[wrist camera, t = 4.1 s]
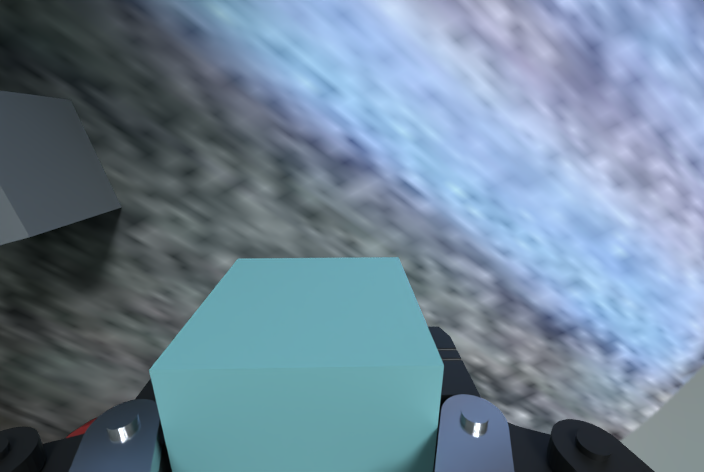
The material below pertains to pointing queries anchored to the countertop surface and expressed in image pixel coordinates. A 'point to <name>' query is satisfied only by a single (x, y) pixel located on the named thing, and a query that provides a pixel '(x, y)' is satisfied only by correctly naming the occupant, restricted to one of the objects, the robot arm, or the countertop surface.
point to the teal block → (303, 372)
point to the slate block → (47, 168)
